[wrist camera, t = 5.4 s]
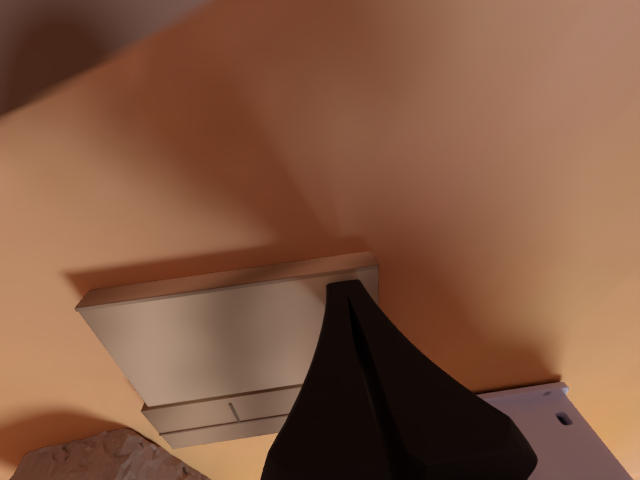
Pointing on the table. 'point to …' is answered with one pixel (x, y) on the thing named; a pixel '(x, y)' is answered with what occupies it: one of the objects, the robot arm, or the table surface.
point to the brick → (105, 460)
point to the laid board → (223, 416)
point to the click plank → (221, 326)
